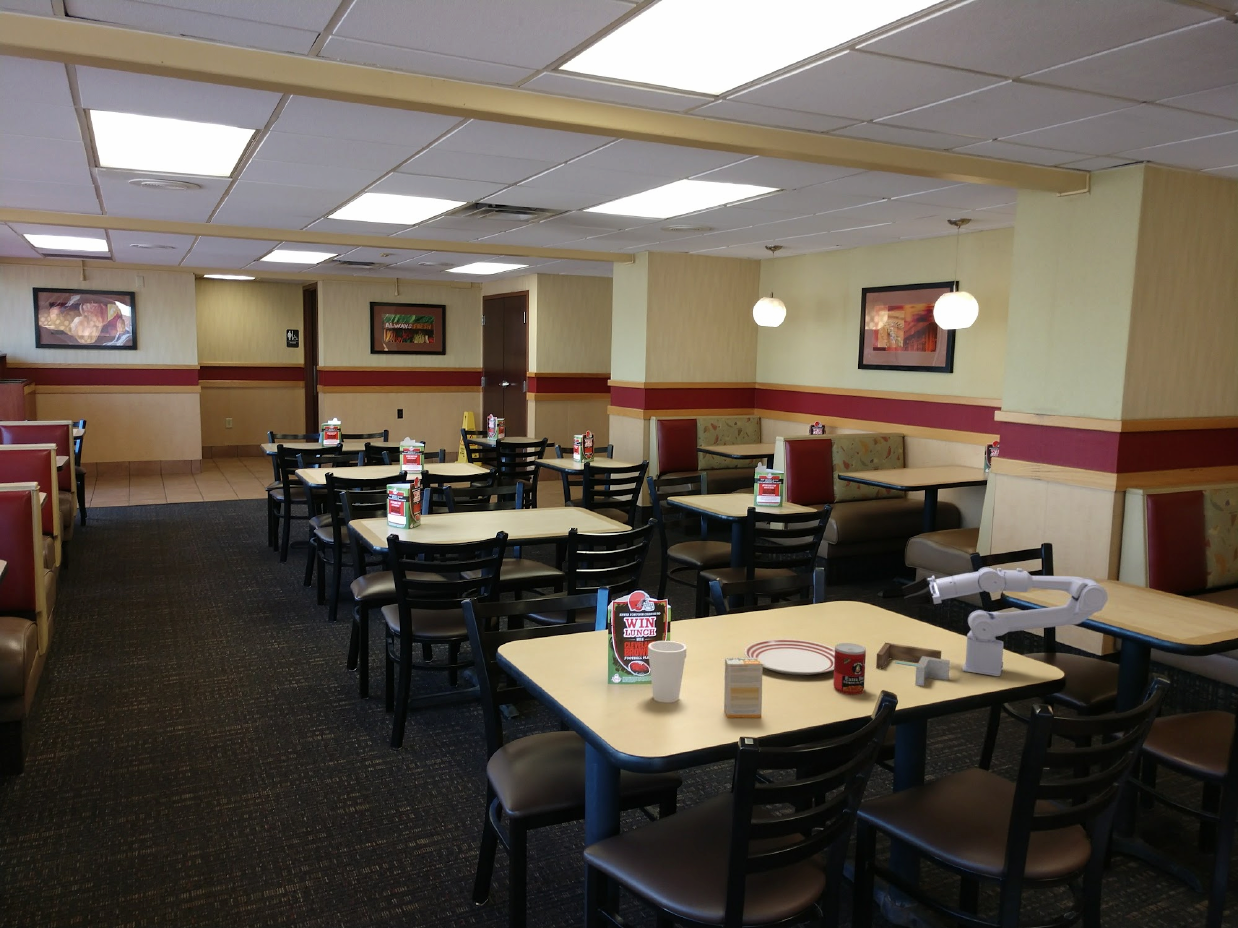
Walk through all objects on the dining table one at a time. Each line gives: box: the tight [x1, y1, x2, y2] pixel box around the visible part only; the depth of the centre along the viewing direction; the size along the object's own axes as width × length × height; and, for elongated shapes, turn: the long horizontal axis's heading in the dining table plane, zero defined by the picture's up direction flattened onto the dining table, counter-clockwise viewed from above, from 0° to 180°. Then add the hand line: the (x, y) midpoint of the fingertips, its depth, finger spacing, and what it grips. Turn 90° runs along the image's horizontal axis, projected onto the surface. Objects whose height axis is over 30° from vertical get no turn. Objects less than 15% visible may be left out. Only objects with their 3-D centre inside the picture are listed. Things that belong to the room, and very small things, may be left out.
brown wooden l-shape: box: [875, 642, 942, 670], centre depth 247 cm, size 15×12×4 cm
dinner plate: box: [744, 638, 835, 676], centre depth 247 cm, size 27×27×3 cm
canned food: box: [833, 642, 867, 695], centre depth 227 cm, size 8×8×11 cm
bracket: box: [914, 656, 951, 687], centre depth 234 cm, size 10×7×5 cm
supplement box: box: [723, 657, 764, 719], centre depth 209 cm, size 8×5×13 cm, turn 92°
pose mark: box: [894, 660, 918, 667], centre depth 246 cm, size 9×7×1 cm
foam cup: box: [647, 640, 688, 704], centre depth 219 cm, size 10×9×13 cm
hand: (903, 596), depth 249 cm, fingers open, 7 cm apart
